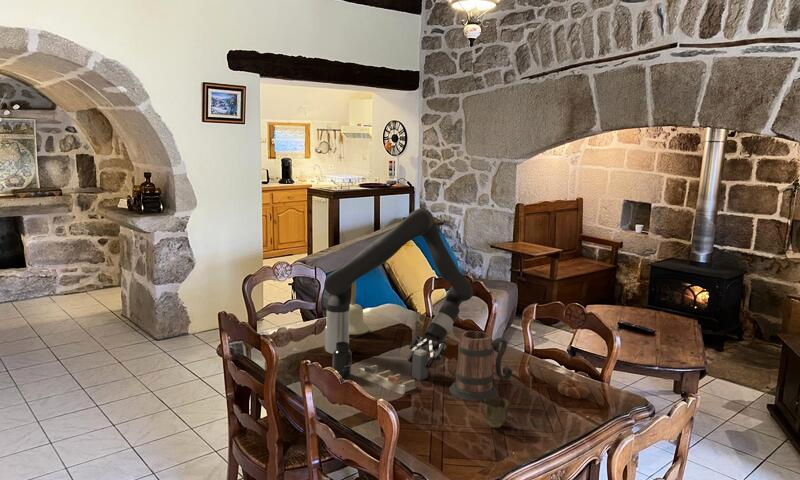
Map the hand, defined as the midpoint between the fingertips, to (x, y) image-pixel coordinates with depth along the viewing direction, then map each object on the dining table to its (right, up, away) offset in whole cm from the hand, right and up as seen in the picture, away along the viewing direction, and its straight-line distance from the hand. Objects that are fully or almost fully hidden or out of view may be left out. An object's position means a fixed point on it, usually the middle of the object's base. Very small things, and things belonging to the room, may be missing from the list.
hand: (417, 364), depth 212 cm
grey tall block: (+1, -5, +2) cm, 5 cm away
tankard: (+22, -7, -8) cm, 24 cm away
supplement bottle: (-27, -4, +1) cm, 28 cm away
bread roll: (+54, -8, -8) cm, 55 cm away
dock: (-10, -6, -4) cm, 12 cm away
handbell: (-28, +3, +53) cm, 60 cm away
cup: (+22, -11, -36) cm, 44 cm away
